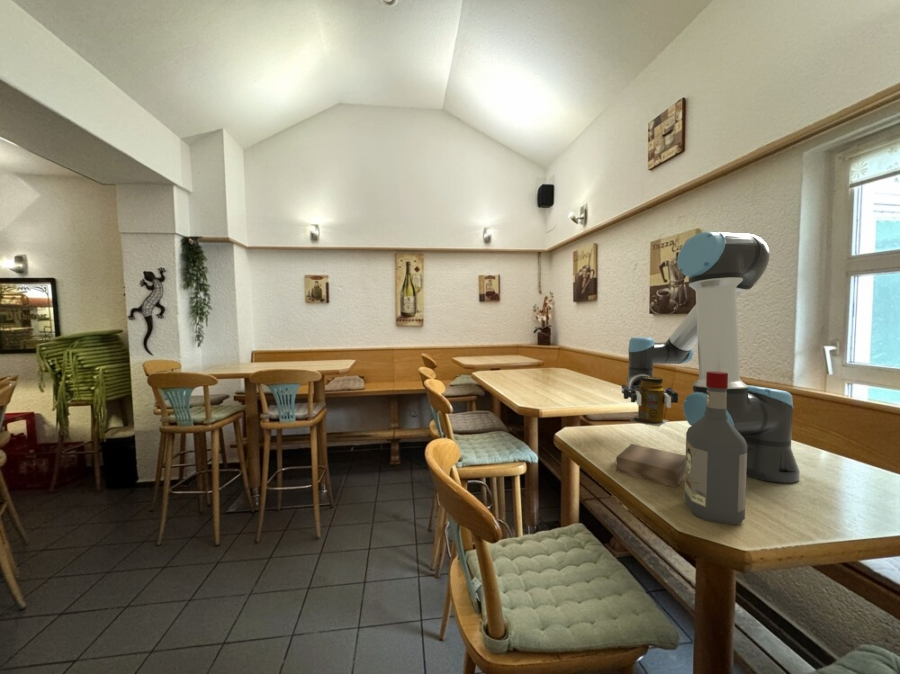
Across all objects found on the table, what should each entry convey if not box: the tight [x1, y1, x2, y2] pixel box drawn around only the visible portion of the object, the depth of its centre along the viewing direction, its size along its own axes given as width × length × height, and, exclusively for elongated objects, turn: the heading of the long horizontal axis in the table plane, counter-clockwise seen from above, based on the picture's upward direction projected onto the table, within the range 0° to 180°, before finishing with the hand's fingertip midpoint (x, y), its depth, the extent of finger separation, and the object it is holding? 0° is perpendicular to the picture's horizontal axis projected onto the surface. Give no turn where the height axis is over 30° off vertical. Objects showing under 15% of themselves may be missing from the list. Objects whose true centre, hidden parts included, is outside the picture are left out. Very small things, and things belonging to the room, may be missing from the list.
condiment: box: [629, 376, 669, 428], centre depth 96 cm, size 7×8×12 cm
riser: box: [615, 443, 686, 488], centre depth 96 cm, size 14×14×4 cm
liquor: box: [684, 371, 747, 526], centre depth 74 cm, size 9×9×30 cm
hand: (654, 401), depth 91 cm, fingers closed on condiment, 6 cm apart
